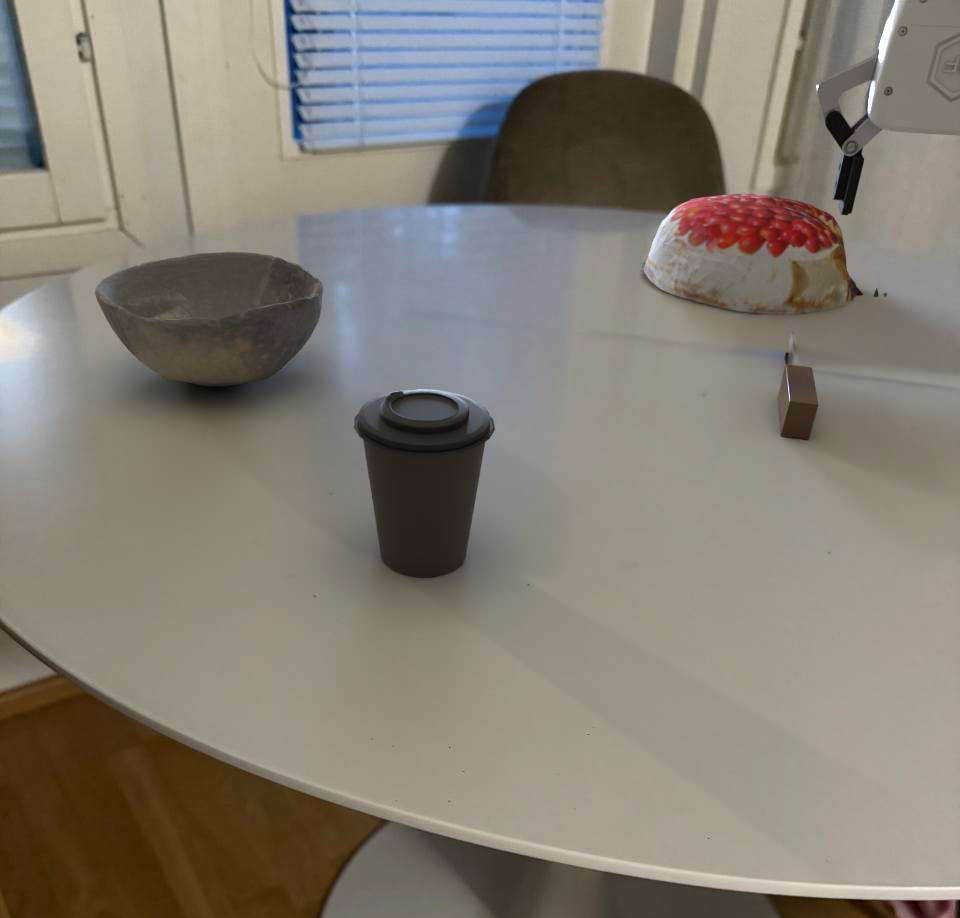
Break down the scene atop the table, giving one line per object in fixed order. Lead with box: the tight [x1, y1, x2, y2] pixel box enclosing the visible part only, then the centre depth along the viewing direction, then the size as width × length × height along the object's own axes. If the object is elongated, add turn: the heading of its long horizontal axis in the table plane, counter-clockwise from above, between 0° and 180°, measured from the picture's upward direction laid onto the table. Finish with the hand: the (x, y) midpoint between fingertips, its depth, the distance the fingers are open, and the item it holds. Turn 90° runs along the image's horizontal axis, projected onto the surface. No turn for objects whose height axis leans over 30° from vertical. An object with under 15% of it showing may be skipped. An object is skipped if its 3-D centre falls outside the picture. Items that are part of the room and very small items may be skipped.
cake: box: [643, 192, 888, 315], centre depth 102 cm, size 23×24×10 cm
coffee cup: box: [353, 388, 496, 578], centre depth 57 cm, size 8×8×10 cm
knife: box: [777, 330, 819, 441], centre depth 82 cm, size 18×2×3 cm, turn 168°
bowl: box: [94, 251, 324, 388], centre depth 79 cm, size 18×18×8 cm
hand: (910, 215), depth 72 cm, fingers open, 9 cm apart
